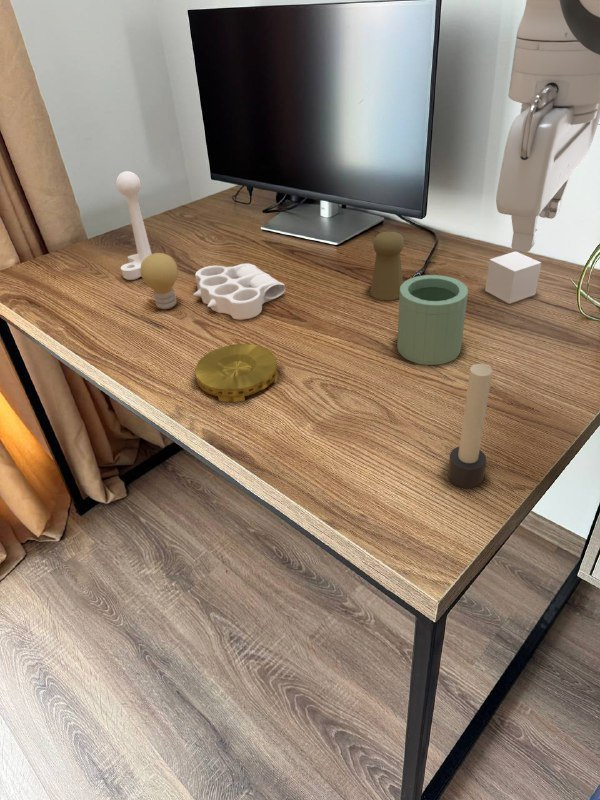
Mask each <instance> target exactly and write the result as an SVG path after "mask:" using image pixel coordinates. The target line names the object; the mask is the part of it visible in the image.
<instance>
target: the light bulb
mask: <svg viewBox="0 0 600 800" xmlns="http://www.w3.org/2000/svg"><path fill="white" fill-rule="evenodd" d="M140 271H141V276H142V277H141V279H142V280H143V282H144V284H146V286H148V287H149V288H150V289H151V290H153V296H154V301H155V305H156V307H157V308H158V309H161V310H169V309H172V308H173V307H175V306H176V305H177V303H178V301H177V297H176V293H175V292H176V291H175V288H174V285H175V283H176V281H177V279H178V276H179V269H178V265H177V263H176V261H175V260H174V258H173V257H172V256H170V255H169V254H166V253H163V252H154V253H152V254H151V255H149V256H147V257H146V258H145V259H144V260H143V261H142V263H141V268H140Z"/></svg>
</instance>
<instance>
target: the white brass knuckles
mask: <svg viewBox="0 0 600 800" xmlns="http://www.w3.org/2000/svg"><path fill="white" fill-rule="evenodd" d="M194 277H195V281H196V287H197V290H196V291H195V292H194V293H193V294H192V296H194V297H199V298H201V301H202V303H203V304H205V305H207V306H206V307H207V308H210V309H211V310H212V311H213V312H216V313H218V314H225V315H229V316H231V318H232V319H234V320H239V321H240V320H243V321H244V320H249V319H253V318H256V317H257V316H259V315H260V314H261V313H262V311H263V305H264V304H266V303H268V302H272V301H273V300H275V299H277V298H279V297H281V296H282V295H284V294H285V292H286V288H287V287H286V285H285V283H284V282H280V281H279V280H277V279H275V278H274V277H273V276H271V275H270V274H269V273H266V272H265V271H263V270H262V269H260V268H258V267H257V266H256V265H255V264H252V263H248V262H247V263H240V264H237V265H234V266H224V265H209V266H204V267H202V268H200V269H198V270H196V272H195V275H194Z"/></svg>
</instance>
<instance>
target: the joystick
mask: <svg viewBox="0 0 600 800" xmlns="http://www.w3.org/2000/svg"><path fill="white" fill-rule="evenodd" d="M115 181H116V182H115V185H116V188H117V190H118V192H119V193H120V194H122V195H123V196H124V197H125V199H126V203H127V208H128V212H129V217H130V222H131V227H132V232H133V237H134V241H135V248H136V252H137V253H135V254H130V255H127V261H128V262H127V263H123V264H122V265H121V266H120V271H121V275H122V278H124V279H125V280H127V281H135V280H138V279H140V278H142V276H141V271H140V268H141V263H142V261H143V260H144V259H145V258H146V257H147V256H149V255H151V254H153V253H152V251H151V250H152V249H151V245H150V242H149V238H148V234H147V231H146V227H145V222H144V218H143V215H142V211H141V207H140V202H139V199H138V195H139V193H140V191H141V188H142V183H141V179H140V178H139V176H138V175H137V173H135V172H132V171H131V170H126V171H122V172H120V173H119V174H118V176H117V177H116V180H115Z"/></svg>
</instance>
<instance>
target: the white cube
mask: <svg viewBox="0 0 600 800" xmlns="http://www.w3.org/2000/svg"><path fill="white" fill-rule="evenodd" d="M541 267H542V262H541V261H539V260H537V259H534V258H533V257H530V256H528V255H525V254H524V253H521V252H520V251H515V250H514V251H512V252H508V253H505V254H502V255H499V256H496V257H492V258H490V259H489V260H488V267H487V273H486V281H485V289H484V292H486V293H489V294H490V295H492V296H494V297H495V298H497V299H499V300H501V301H503V302H505V303H507V304H509V305H510V304H513V303H516V302H519V301H521V300H524V299H528V298H530V297H533V296H535V295H536V293H537V289H538V288H537V287H538V284H539V283H538V282H539V278H540V272H541Z"/></svg>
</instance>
